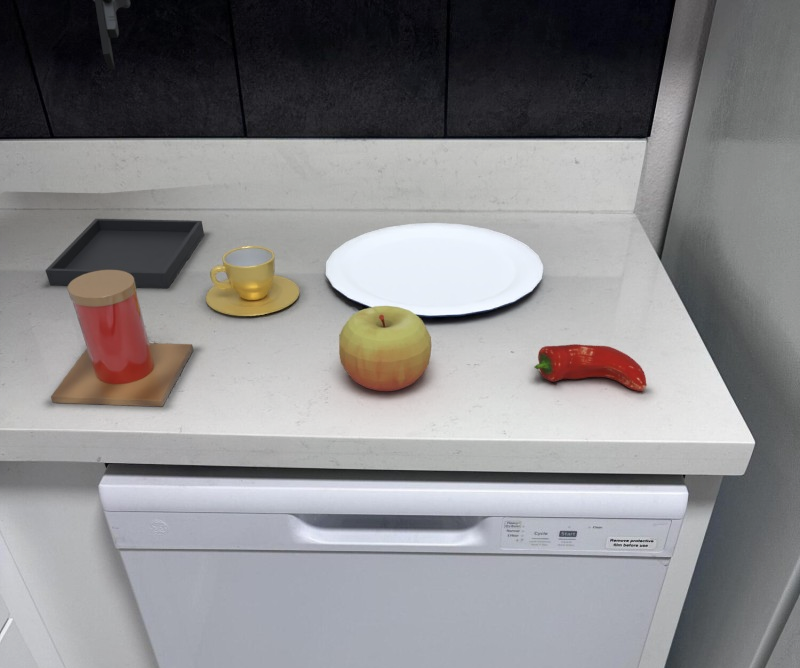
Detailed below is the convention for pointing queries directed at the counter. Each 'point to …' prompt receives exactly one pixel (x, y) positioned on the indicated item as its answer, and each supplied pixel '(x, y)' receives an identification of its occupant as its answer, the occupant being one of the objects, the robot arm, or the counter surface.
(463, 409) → the counter surface
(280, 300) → the cup
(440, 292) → the plate
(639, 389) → the vegetable
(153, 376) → the board
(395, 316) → the apple
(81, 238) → the tray
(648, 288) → the counter surface
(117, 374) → the spice jar
